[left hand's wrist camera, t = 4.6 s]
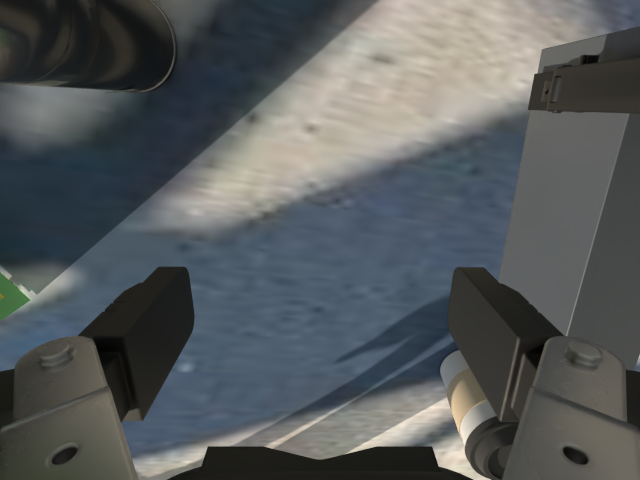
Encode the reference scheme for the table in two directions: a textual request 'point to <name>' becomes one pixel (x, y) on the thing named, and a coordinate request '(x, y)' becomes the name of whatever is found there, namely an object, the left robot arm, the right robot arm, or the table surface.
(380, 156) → the table surface
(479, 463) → the coffee cup
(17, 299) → the toy game set
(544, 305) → the box
